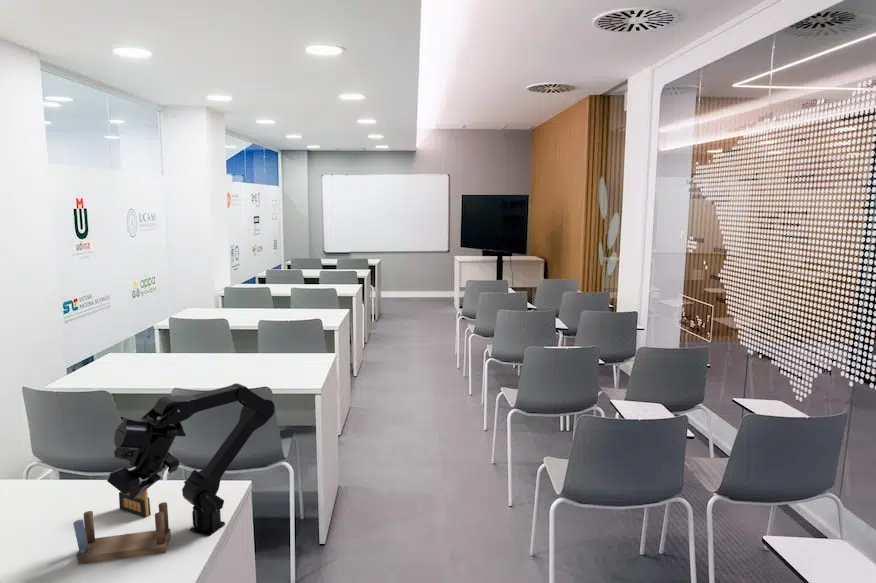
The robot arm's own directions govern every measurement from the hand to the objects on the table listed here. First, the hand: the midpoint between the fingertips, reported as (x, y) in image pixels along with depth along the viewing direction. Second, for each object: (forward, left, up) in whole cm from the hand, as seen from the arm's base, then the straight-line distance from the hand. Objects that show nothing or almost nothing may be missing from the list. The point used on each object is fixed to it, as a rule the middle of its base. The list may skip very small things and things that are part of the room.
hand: (131, 498), depth 149 cm
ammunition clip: (+13, -12, -12) cm, 21 cm away
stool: (0, +3, -12) cm, 12 cm away
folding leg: (+5, +10, -9) cm, 15 cm away
